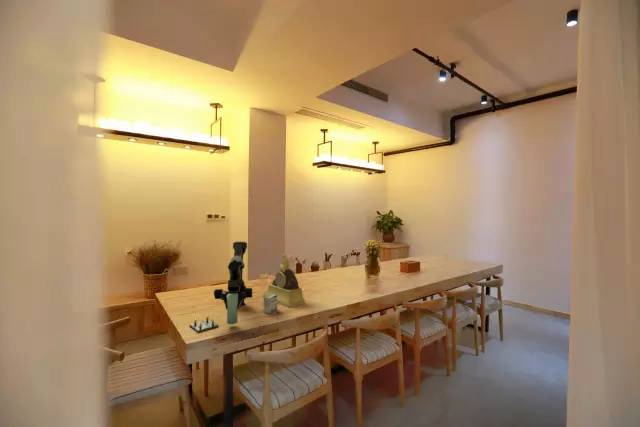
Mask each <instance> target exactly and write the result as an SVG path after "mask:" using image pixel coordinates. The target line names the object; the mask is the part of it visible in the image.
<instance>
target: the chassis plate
mask: <svg viewBox="0 0 640 427" xmlns="http://www.w3.org/2000/svg"><path fill="white" fill-rule="evenodd" d="M205 317H206V319H203V320H202V321H198V322H197V319H196V318H195V319H193V322H194V323H190V324H189V327H190V328H191V329H192V330H194V331H195V332H196V333H197V334H198V333H199V334H200V333H202V332H204V331H208V330H212V329H215V328H218V327H219V324H218V323H217V322H215V321H214V320H215V319H210V318H209V315H206V316H205Z"/></svg>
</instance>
